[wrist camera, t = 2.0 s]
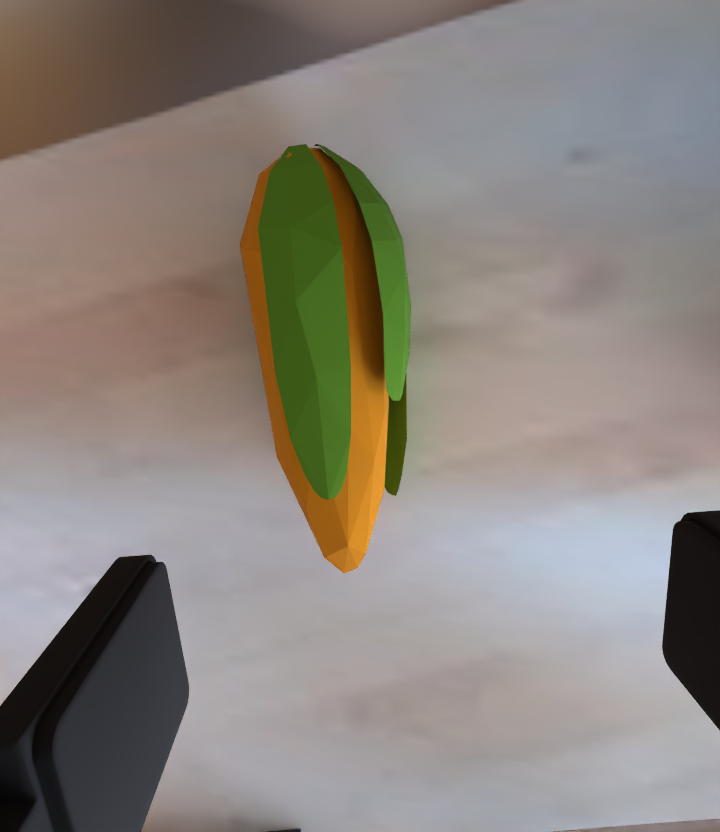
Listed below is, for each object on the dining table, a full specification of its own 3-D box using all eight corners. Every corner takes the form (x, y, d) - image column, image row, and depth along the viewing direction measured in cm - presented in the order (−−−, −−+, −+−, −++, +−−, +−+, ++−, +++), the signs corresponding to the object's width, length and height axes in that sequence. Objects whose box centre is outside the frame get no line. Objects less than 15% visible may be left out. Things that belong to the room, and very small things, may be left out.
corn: (403, 109, 18) (435, 616, 23) (397, 153, 25) (422, 532, 31) (190, 133, 19) (268, 625, 24) (244, 170, 26) (295, 540, 31)
